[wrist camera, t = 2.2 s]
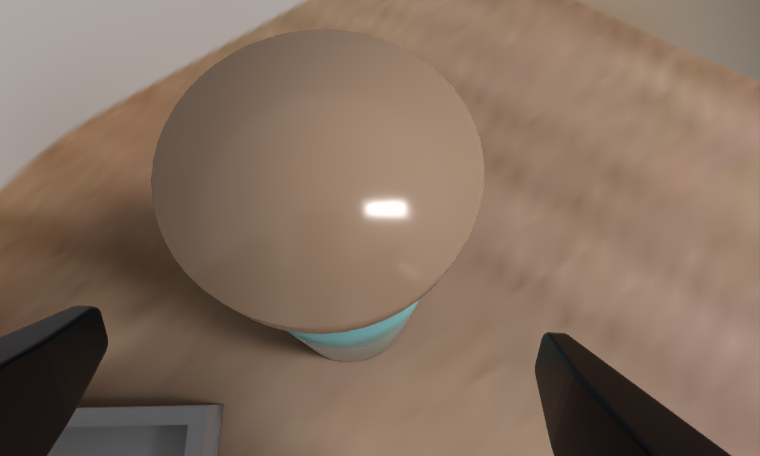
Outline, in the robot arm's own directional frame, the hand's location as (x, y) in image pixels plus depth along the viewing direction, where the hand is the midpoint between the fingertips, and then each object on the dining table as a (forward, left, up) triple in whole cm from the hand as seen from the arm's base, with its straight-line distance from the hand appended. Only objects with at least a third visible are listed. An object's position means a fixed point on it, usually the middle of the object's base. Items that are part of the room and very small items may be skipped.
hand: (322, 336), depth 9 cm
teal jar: (+3, 0, -10) cm, 10 cm away
